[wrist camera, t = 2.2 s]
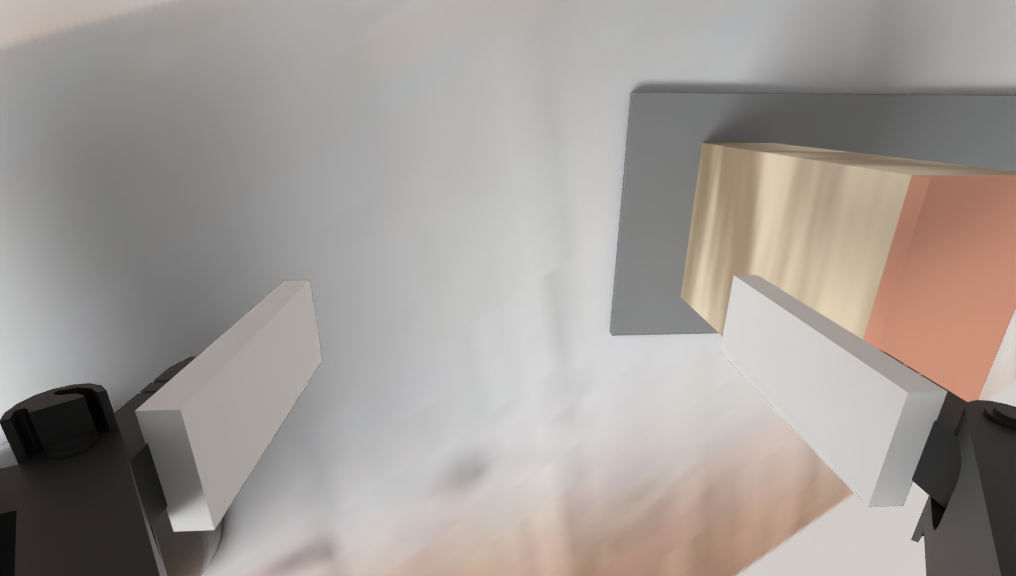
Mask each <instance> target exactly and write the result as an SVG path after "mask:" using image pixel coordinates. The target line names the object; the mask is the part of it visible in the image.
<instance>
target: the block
mask: <svg viewBox="0 0 1016 576" xmlns="http://www.w3.org/2000/svg"><path fill="white" fill-rule="evenodd" d="M734 275H758V276H760V277H762V278H763V279H765V280H766V281H768V282H770V283H771V284H773V285H775V286H776V287H778V288H779V289H781V290H783V291H784V292H786V293H788V294H789V295H791V296H792V297H794V298H796V299H797V300H799V301H801V302H802V303H804V304H806V305H807V306H809V307H810V308H812V309H814V310H815V311H817V312H819V313H820V314H822V315H823V316H825V317H827V318H828V319H830V320H832V321H833V322H835V323H836V324H838V325H840V326H841V327H843V328H845V329H846V330H848V331H850V332H851V333H853V334H854V335H856V336H858V337H859V338H861V339H863V340H864V341H866V342H867V343H869V344H871V345H872V346H874V347H876V348H877V349H879V350H881V351H884V352H886V353H888V354H889V355H891V356H893V357H894V358H896V359H898V360H899V361H901V362H903V363H904V365H905V366H909V367H911V368H912V369H914V370H916V371H917V372H919V374H920V375H924V376H926V377H927V378H929V379H930V380H932V381H934V382H935V383H937V384H939V385H940V386H942V387H944V388H945V389H947V390H949V391H950V392H952V393H953V394H955V395H957V396H958V397H960V398H962V399H963V400H965V401H967V402H970V401H974V400H978V399H979V396H980V394H981V391H982V389H983V386H984V384H985V381H986V379H987V377H988V374H989V372H990V369H991V367H992V364H993V362H994V360H995V357H996V355H997V352H998V350H999V347H1000V345H1001V342H1002V340H1003V338H1004V335H1005V333H1006V330H1007V328H1008V325H1009V323H1010V320H1011V318H1012V316H1013V313H1014V311H1015V308H1016V171H1008V170H999V169H991V168H982V167H974V166H965V165H957V164H948V163H940V162H931V161H923V160H914V159H906V158H897V157H889V156H880V155H872V154H863V153H855V152H846V151H838V150H829V149H821V148H812V147H804V146H795V145H787V144H778V143H702V149H701V156H700V163H699V170H698V177H697V184H696V191H695V198H694V205H693V212H692V219H691V226H690V233H689V240H688V248H687V255H686V262H685V269H684V276H683V283H682V290H681V298H682V299H683V300H684V301H685V302H686V303H687V304H688V305H689V306H691V307H692V308H693V309H694V310H695V311H696V312H697V313H698V314H699V315H700V316H701V317H702V318H703V319H705V320H706V321H707V322H708V323H709V324H710V325H711V326H712V327H713V328H714V329H715V330H716V331H717V332H718V333H720V334H721V335H722V336H723V332H724V326H725V321H726V315H727V310H728V304H729V299H730V293H731V288H732V282H733V277H734Z"/></svg>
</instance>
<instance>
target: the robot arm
mask: <svg viewBox="0 0 1016 576" xmlns="http://www.w3.org/2000/svg"><path fill="white" fill-rule="evenodd" d="M720 354H721V355H722V356H723V357H724V358H725V359H726V360H727V361H728V362H729V363H730V364H731V365H732V366H733V367H734V368H735V369H736V370H737V371H738V372H739V373H740V374H741V376H742V377H743V378H744V379H745V380H746V381H747V382H748V383H749V384H750V385H751V386H752V387H753V388H754V389H755V390H756V391H757V392H758V393H759V394H760V395H761V396H762V397H763V398H764V399H765V401H766V402H767V403H768V404H769V405H770V406H771V407H772V408H773V409H774V410H775V411H776V412H777V413H778V414H779V415H780V416H781V417H782V418H783V419H784V420H785V421H786V422H787V423H788V424H789V425H790V427H791V428H792V429H793V430H794V431H795V432H796V433H797V434H798V435H799V436H800V437H801V438H802V439H803V440H804V441H805V442H806V443H807V444H808V445H809V446H810V447H811V448H812V449H813V450H814V452H815V453H816V454H817V455H818V456H819V457H820V458H821V459H822V460H823V461H824V462H825V463H826V464H827V465H828V466H829V467H830V468H831V469H832V470H833V471H834V472H835V473H836V474H837V475H838V476H839V478H840V479H841V480H842V481H843V482H844V483H845V484H846V485H847V486H848V487H849V488H850V489H851V490H852V491H853V492H854V493H855V494H856V495H857V496H858V497H859V498H860V499H861V500H862V501H863V503H864V504H865V505H866V506H867V507H886V506H904V504H905V501H906V498H907V496H908V493H909V491H910V488H911V486H912V483H913V481H914V482H915V483H916V484H917V485H918V486H919V487H920V488H922V489H923V490H924V491H925V492H926V493H927V494H929V497H928V500H927V502H926V505H925V507H924V509H923V512H922V514H921V517H920V519H919V522H918V524H917V527H916V529H915V532H914V534H913V537H912V540H913V541H916V542H919V540H920V538H921V536H924V541H925V559H926V576H1016V407H1014V406H1010V405H1007V404H1003V403H997V402H993V401H984V400H974V401H970V402H967V401H965V400H963V399H962V398H960V397H958V396H957V395H955V394H953V393H952V392H950V391H949V390H947V389H945V388H944V387H942V386H940V385H939V384H937V383H935V382H934V381H932V380H930V379H929V378H927V377H926V376H924V375H920V374H919V372H917V371H916V370H914V369H912V368H911V367H909V366H905V365H904V363H903V362H901V361H899V360H898V359H896V358H894V357H893V356H891V355H889V354H888V353H886V352H884V351H881V350H879V349H877V348H876V347H874V346H872V345H871V344H869V343H867V342H866V341H864V340H863V339H861V338H859V337H858V336H856V335H854V334H853V333H851V332H850V331H848V330H846V329H845V328H843V327H841V326H840V325H838V324H836V323H835V322H833V321H832V320H830V319H828V318H827V317H825V316H823V315H822V314H820V313H819V312H817V311H815V310H814V309H812V308H810V307H809V306H807V305H806V304H804V303H802V302H801V301H799V300H797V299H796V298H794V297H792V296H791V295H789V294H788V293H786V292H784V291H783V290H781V289H779V288H778V287H776V286H775V285H773V284H771V283H770V282H768V281H766V280H765V279H763V278H762V277H760V276H758V275H734V277H733V282H732V288H731V293H730V299H729V304H728V310H727V315H726V321H725V326H724V332H723V337H722V343H721V348H720ZM321 362H322V355H321V349H320V342H319V335H318V329H317V322H316V315H315V309H314V302H313V295H312V289H311V282H310V280H284V281H283V282H282V283H281V284H280V285H278V286H277V287H276V288H275V289H274V290H273V291H272V292H270V293H269V294H268V295H267V296H266V297H265V298H264V299H262V300H261V301H260V302H259V303H258V304H257V305H256V306H254V307H253V308H252V309H251V310H250V311H249V312H248V313H246V314H245V315H244V316H243V317H242V318H241V319H240V320H238V321H237V322H236V323H235V324H234V325H233V326H231V327H230V328H229V329H228V330H227V331H226V332H225V333H223V334H222V335H221V336H220V337H219V338H218V339H217V340H215V341H214V342H213V343H212V344H211V345H210V346H209V347H207V348H206V349H205V350H204V351H203V352H202V353H201V354H199V355H198V356H197V357H190V358H188V359H186V360H184V361H182V362H180V363H178V364H176V365H174V366H172V367H170V368H168V369H167V370H166V371H165V372H164V373H162V374H161V375H160V376H159V377H157V378H156V379H155V380H154V383H150V384H149V385H148V386H147V387H145V388H144V389H143V390H142V391H141V394H137V395H136V396H135V397H133V398H132V399H131V400H130V401H129V402H127V403H126V404H125V405H124V406H123V407H121V408H120V409H119V410H118V411H117V412H115V413H114V412H113V409H112V406H111V403H110V400H109V397H108V394H107V392H106V390H105V389H104V388H103V387H102V386H101V385H96V384H90V383H89V384H75V385H69V386H65V387H60V388H55V389H52V390H49V391H46V392H43V393H40V394H37V395H34V396H32V397H30V398H28V399H26V400H24V401H22V402H20V403H18V404H16V405H15V406H13V407H12V408H11V409H9V410H8V411H7V412H5V413H4V415H3V416H2V418H1V420H0V424H1V426H2V429H3V431H4V433H5V435H6V438H7V440H8V442H7V443H5V444H4V445H2V446H1V447H0V576H202V574H203V573H204V571H205V569H206V568H207V566H208V564H209V563H210V561H211V559H212V558H213V556H214V554H215V552H216V550H217V548H218V546H219V542H220V539H221V532H222V521H221V519H222V518H223V516H224V514H225V513H226V511H227V510H228V508H229V506H230V505H231V503H232V502H233V500H234V499H235V497H236V495H237V494H238V492H239V491H240V489H241V488H242V486H243V484H244V483H245V481H246V480H247V478H248V477H249V475H250V473H251V472H252V470H253V469H254V467H255V466H256V464H257V462H258V461H259V459H260V458H261V456H262V455H263V453H264V451H265V450H266V448H267V447H268V445H269V443H270V442H271V440H272V439H273V437H274V436H275V434H276V432H277V431H278V429H279V428H280V426H281V425H282V423H283V421H284V420H285V418H286V417H287V415H288V414H289V412H290V410H291V409H292V407H293V406H294V404H295V403H296V401H297V399H298V398H299V396H300V395H301V393H302V391H303V390H304V388H305V387H306V385H307V384H308V382H309V380H310V379H311V377H312V376H313V374H314V373H315V371H316V369H317V368H318V366H319V365H320V363H321Z"/></svg>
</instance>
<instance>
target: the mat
mask: <svg viewBox="0 0 1016 576" xmlns="http://www.w3.org/2000/svg"><path fill="white" fill-rule="evenodd" d="M702 143H778V144H787V145H795V146H804V147H812V148H821V149H829V150H838V151H846V152H855V153H863V154H872V155H880V156H889V157H897V158H906V159H914V160H923V161H931V162H940V163H948V164H957V165H965V166H974V167H982V168H991V169H999V170H1008V171H1016V95H900V94H762V93H631V97H630V108H629V120H628V131H627V142H626V154H625V165H624V176H623V188H622V199H621V210H620V222H619V233H618V244H617V256H616V267H615V279H614V290H613V301H612V313H611V324H610V332H611V334H612V336H616V335H661V334H705V333H718V332H717V331H716V330H715V329H714V328H713V327H712V326H711V325H710V324H709V323H708V322H707V321H706V320H705V319H703V318H702V317H701V316H700V315H699V314H698V313H697V312H696V311H695V310H694V309H693V308H692V307H691V306H689V305H688V304H687V303H686V302H685V301H684V300H683V299H682V298H681V290H682V283H683V276H684V269H685V262H686V255H687V248H688V240H689V233H690V226H691V219H692V212H693V205H694V198H695V191H696V184H697V177H698V170H699V163H700V156H701V149H702Z"/></svg>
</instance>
